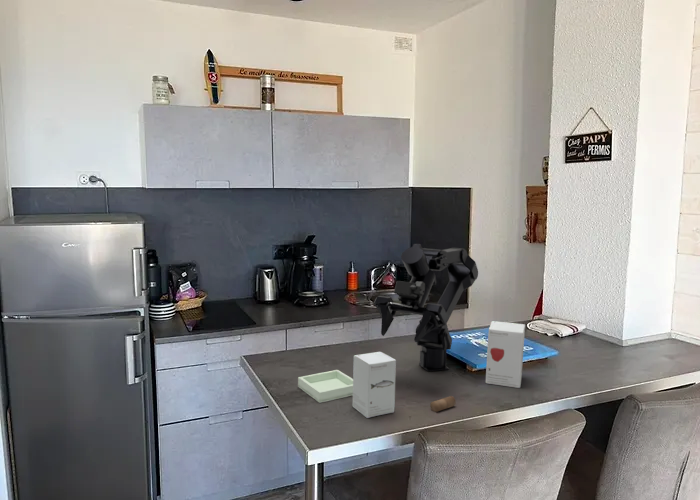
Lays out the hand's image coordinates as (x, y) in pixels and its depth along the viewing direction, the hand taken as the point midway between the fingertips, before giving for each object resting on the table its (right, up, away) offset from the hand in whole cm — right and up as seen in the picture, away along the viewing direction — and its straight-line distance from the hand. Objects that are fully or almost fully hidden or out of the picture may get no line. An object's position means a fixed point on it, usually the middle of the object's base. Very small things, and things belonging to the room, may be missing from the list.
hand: (398, 338), depth 133 cm
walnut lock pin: (+10, -15, -7) cm, 19 cm away
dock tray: (-17, -13, +2) cm, 22 cm away
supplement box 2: (+29, -13, +11) cm, 34 cm away
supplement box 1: (-7, -15, -9) cm, 19 cm away
